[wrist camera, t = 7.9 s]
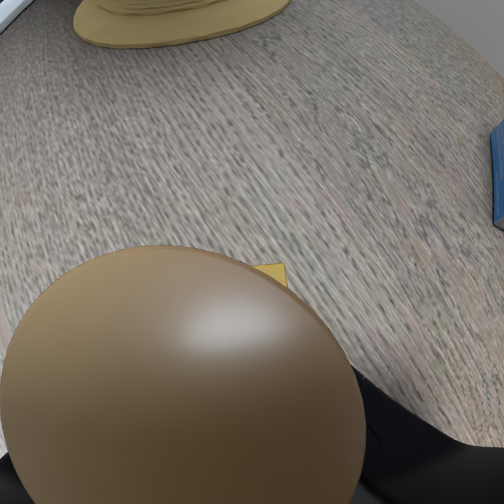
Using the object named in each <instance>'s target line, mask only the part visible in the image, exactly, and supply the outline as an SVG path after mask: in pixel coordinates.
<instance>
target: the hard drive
mask: <svg viewBox="0 0 504 504" xmlns="http://www.w3.org/2000/svg"><path fill="white" fill-rule="evenodd" d="M32 1H33V0H4V1H3V2H2V3H1V4H0V33H1V32H2V31H3V30H4V29H5V28H6V27H7V26H8V25H9V24H10V23H11V22H12V21H13V20H14V19H15V18H16V17H17V16H18V15H19V14H20V13H21V12H22V11H23V10H24V9H25V8H26V7H27V6H28V5H29V4H30V3H31V2H32Z"/></svg>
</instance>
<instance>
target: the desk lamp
mask: <svg viewBox="0 0 504 504" xmlns="http://www.w3.org/2000/svg"><path fill="white" fill-rule="evenodd" d="M290 2H291V0H83V1H82V3H81V4H80V5H79V7H78V8H77V10H76V12H75V15H74V18H73V25H74V30H75V32H76V34H77V35H78V36H79V37H80V38H81V39H82V40H83V41H85V42H88V43H91V44H93V45H96V46H100V47H108V48H116V49H131V48H153V47H161V46H170V45H179V44H184V43H189V42H195V41H200V40H206V39H211V38H215V37H218V36H222V35H226V34H230V33H234V32H238V31H241V30H244V29H246V28H249V27H252V26H254V25H257V24H260V23H263V22H265V21H266V20H268V19H270V18H272V17H273V16H275V15H277V14H279V13H280V12H282V10H283V9H284V8H285V7H286V6H287V5H288V4H289V3H290Z"/></svg>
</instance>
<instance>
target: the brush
mask: <svg viewBox="0 0 504 504" xmlns="http://www.w3.org/2000/svg"><path fill="white" fill-rule="evenodd" d="M0 414H1V423H2V429H3V434H4V438H5V442H6V446H7V450H8V452H9V455H10V458H11V461H12V463H13V466H14V468H15V470H16V472H17V474H18V476H19V478H20V480H21V482H22V484H23V486H24V488H25V489H26V491H27V493H28V494H29V496H30V497H31V499H32V500H33V502H34V503H35V504H349V502H350V500H351V498H352V497H353V495H354V493H355V490H356V487H357V484H358V481H359V478H360V475H361V472H362V467H363V461H364V455H365V449H366V420H365V413H364V406H363V399H362V396H361V393H360V389H359V386H358V383H357V379H356V376H355V374H354V371H353V369H352V367H351V365H350V363H349V361H348V359H347V356H346V354H345V352H344V351H343V349H342V348H341V346H340V344H339V343H338V341H337V340H336V338H335V337H334V335H333V334H332V332H331V331H330V329H329V328H328V327H327V326H326V325H325V323H324V322H323V321H322V320H321V319H320V318H319V316H318V315H317V314H316V313H315V312H314V311H313V310H312V309H311V308H310V307H309V306H308V305H307V304H306V303H305V302H304V301H302V300H301V299H300V298H299V297H298V296H297V295H296V294H295V293H294V292H292V291H291V290H290V289H288V285H287V278H286V270H285V264H284V263H277V264H267V265H256V266H250V265H248V264H246V263H244V262H241V261H238V260H235V259H233V258H230V257H227V256H225V255H222V254H219V253H214V252H210V251H206V250H202V249H197V248H191V247H181V246H171V245H160V246H141V247H135V248H128V249H122V250H118V251H115V252H112V253H108V254H105V255H102V256H99V257H96V258H94V259H92V260H89V261H87V262H85V263H83V264H81V265H79V266H77V267H75V268H73V269H72V270H70V271H69V272H67V273H66V274H64V275H63V276H61V277H60V278H58V279H57V280H56V281H55V282H54V283H52V284H51V285H50V286H49V287H48V288H47V289H46V290H45V291H43V292H42V293H41V294H40V296H39V297H38V298H37V299H36V300H35V302H34V303H33V304H32V305H31V306H30V308H29V309H28V310H27V312H26V313H25V315H24V316H23V318H22V320H21V321H20V323H19V325H18V326H17V328H16V330H15V333H14V335H13V337H12V339H11V342H10V344H9V346H8V350H7V353H6V357H5V360H4V364H3V369H2V376H1V383H0Z"/></svg>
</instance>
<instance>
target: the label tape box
mask: <svg viewBox="0 0 504 504" xmlns="http://www.w3.org/2000/svg"><path fill="white" fill-rule="evenodd" d="M491 145H492V155H493V171H494V224H495V225H496V226H498V227H499V228H501V229H503V230H504V120H503V121H502V122H501V123H500V124H499V125H498V126H497V127H496V129H495V130H494V131H493V132H492V133H491Z"/></svg>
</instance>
